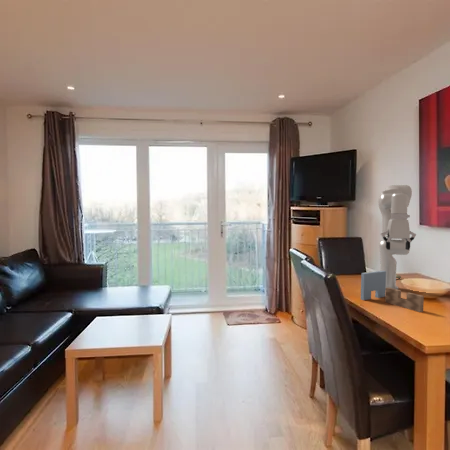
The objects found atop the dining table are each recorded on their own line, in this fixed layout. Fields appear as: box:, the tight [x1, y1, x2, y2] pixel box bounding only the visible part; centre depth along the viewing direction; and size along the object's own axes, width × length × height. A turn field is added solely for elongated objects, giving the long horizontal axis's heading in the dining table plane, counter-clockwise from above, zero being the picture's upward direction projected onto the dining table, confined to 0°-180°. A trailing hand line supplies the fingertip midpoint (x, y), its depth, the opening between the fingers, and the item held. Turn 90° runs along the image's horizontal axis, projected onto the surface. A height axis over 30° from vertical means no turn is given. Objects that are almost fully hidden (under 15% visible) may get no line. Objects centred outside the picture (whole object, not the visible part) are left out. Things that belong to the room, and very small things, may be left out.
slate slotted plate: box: [360, 270, 386, 301], centre depth 194 cm, size 18×2×15 cm, turn 117°
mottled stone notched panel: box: [384, 287, 425, 313], centre depth 178 cm, size 20×2×8 cm, turn 27°
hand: (397, 249), depth 178 cm, fingers open, 9 cm apart
